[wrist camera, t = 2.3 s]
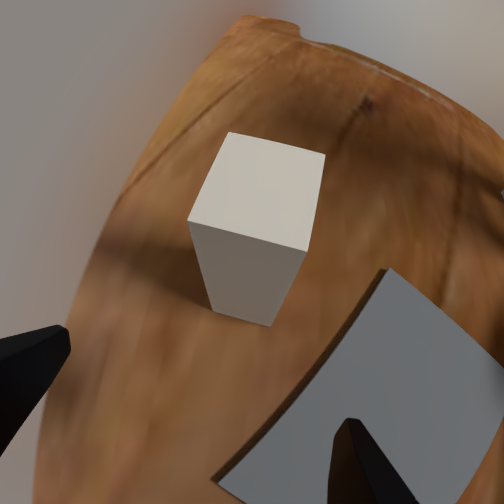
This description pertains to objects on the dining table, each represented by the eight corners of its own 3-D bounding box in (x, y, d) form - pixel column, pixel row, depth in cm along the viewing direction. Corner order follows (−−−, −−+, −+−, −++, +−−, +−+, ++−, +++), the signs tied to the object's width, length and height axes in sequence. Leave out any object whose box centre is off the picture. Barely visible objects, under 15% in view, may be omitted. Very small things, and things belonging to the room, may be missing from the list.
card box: (270, 327, 22) (307, 251, 11) (212, 311, 23) (187, 220, 11) (285, 268, 25) (325, 154, 13) (231, 253, 25) (228, 131, 13)
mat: (395, 568, 12) (397, 571, 11) (218, 481, 17) (217, 483, 16) (513, 382, 20) (516, 381, 19) (386, 270, 25) (389, 267, 24)
